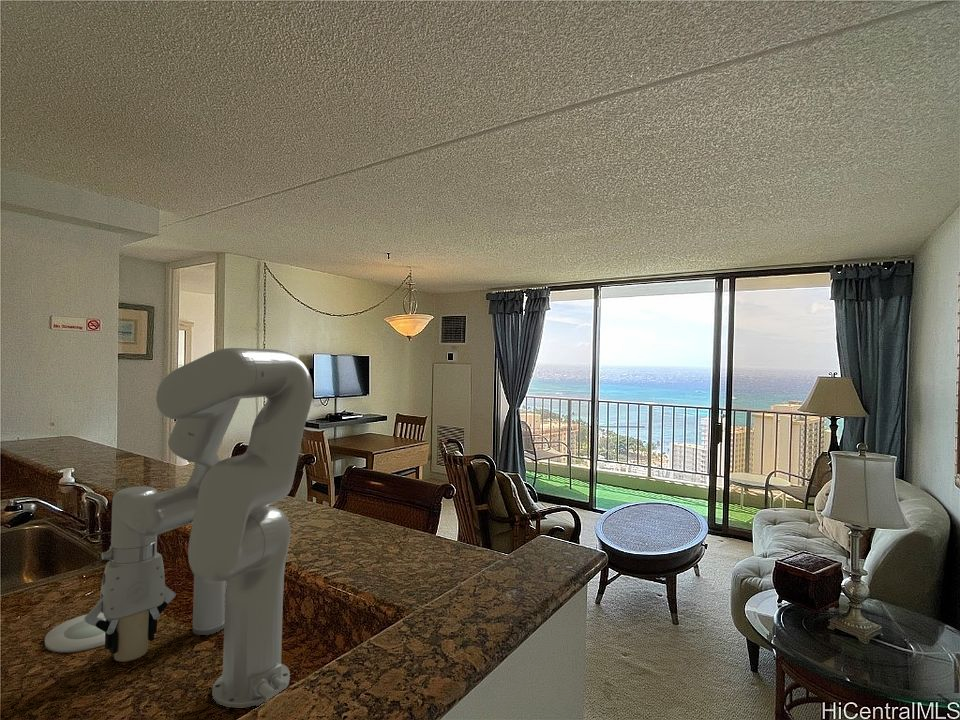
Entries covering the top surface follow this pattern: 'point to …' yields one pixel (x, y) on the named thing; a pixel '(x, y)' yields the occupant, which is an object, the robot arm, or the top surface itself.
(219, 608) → the travel mug
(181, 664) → the top surface
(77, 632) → the ceramic plate
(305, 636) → the top surface
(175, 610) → the top surface
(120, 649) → the candle
